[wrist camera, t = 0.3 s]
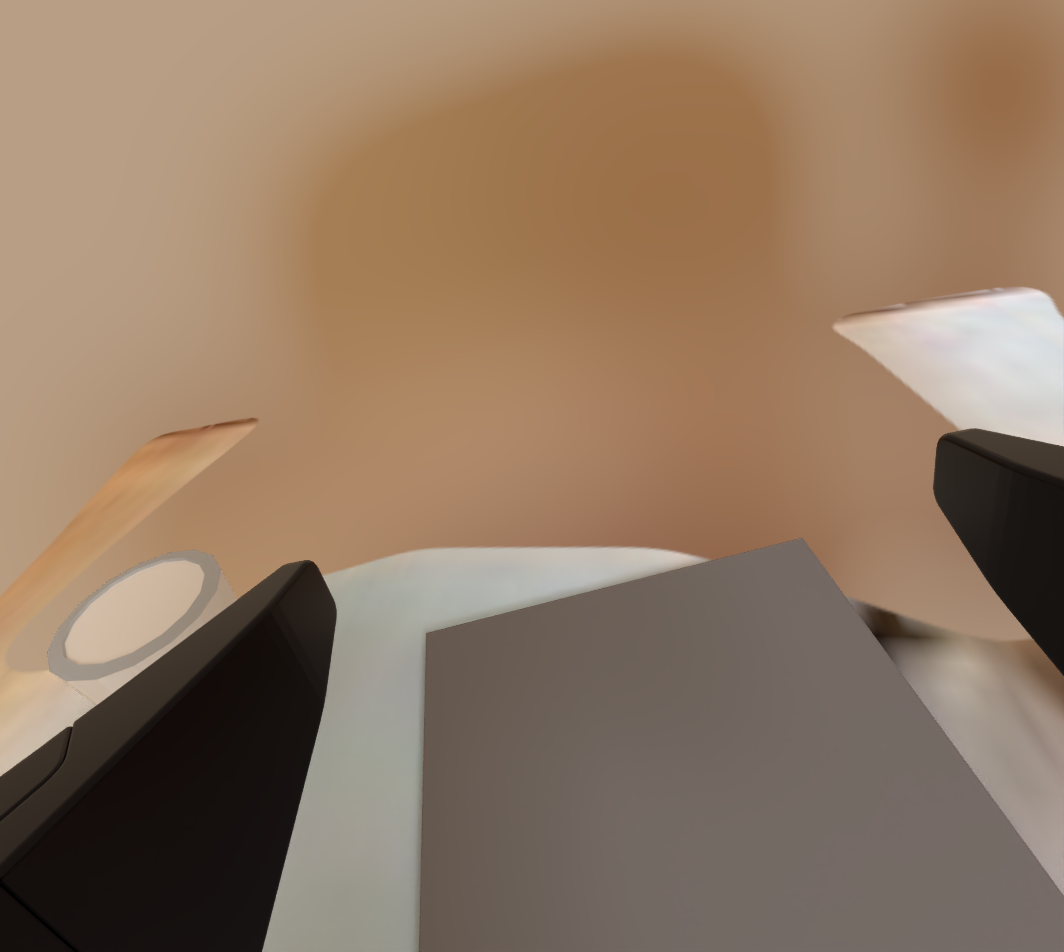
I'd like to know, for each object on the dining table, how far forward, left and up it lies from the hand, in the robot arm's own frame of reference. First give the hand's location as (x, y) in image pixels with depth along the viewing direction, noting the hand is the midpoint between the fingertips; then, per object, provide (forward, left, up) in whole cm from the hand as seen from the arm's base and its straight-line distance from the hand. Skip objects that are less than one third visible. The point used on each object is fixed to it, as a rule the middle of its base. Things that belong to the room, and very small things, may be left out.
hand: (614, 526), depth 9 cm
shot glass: (+13, +18, -16) cm, 28 cm away
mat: (+5, -1, -16) cm, 17 cm away
